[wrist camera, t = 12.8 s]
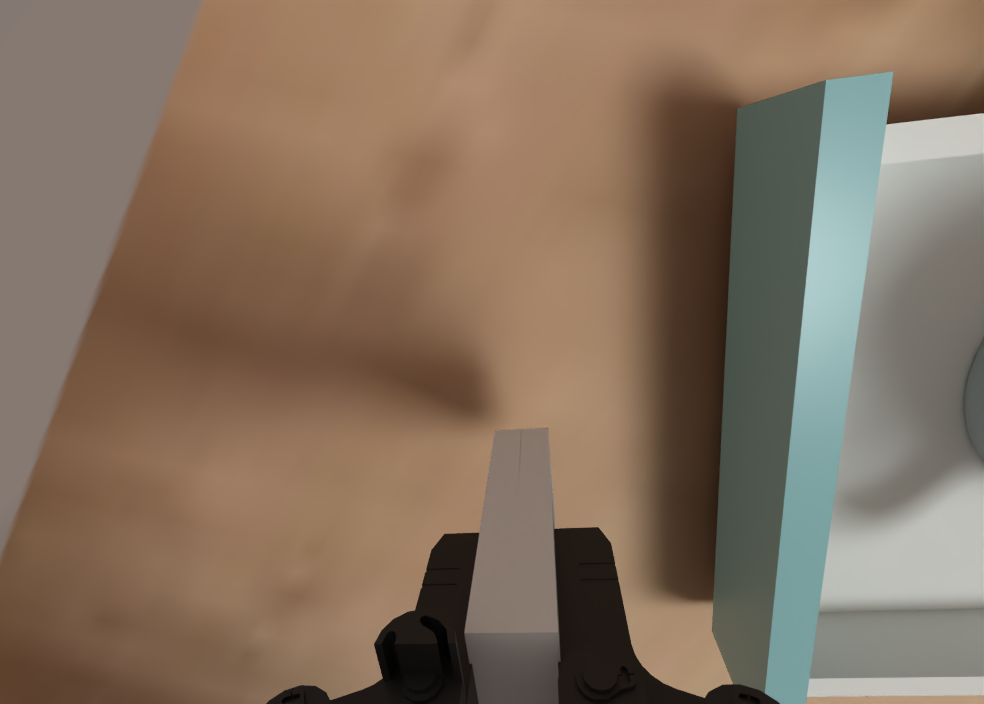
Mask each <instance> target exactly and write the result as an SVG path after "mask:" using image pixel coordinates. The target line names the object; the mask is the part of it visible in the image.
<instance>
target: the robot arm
mask: <svg viewBox="0 0 984 704" xmlns="http://www.w3.org/2000/svg"><path fill="white" fill-rule="evenodd" d="M374 646H375V650H376V654H377V657H378V661H379V665H380V669H381V673H382V677H383V679H381V680H380V681H379V682H377V683H376V684H374V685H372V686H370V687H368V688H365V689H363V690H361V691H358V692H354V693H351V694H348V695H345V696H342V697H339V698H336V699H333V700H330V699H329V697H328V695H327V693H326V692H325V691H323V690H321V689H320V688H318V687H316V686H304V685H301V686H297V687H294V688H291V689H288V690H285V691H283V692H282V693H280V694H279V695H277V696H276V697H274V698H273V699H271V700H270V701H268V702H267V703H266V704H780V703H779V702H778V701H776V700H775V699H773V698H771V697H770V696H768V695H767V694H765V693H763V692H762V691H760V690H758V689H754V688H751V687H748V686H744V685H741V684H732V685H721V686H719V687H717V688H715V689H713V690H712V691H710V692H708V694H707V696H706V697H705V698H703V697H700V696H696V695H693V694H690V693H687V692H684V691H681V690H678V689H675V688H673V687H670V686H668V685H666V684H663V683H662V682H660V681H659V680H658V679H656V678H655V677H653V676H652V675H651V674H650V673H649V672H648V671H647V670H646V669H645V668H644V667H643V666H642V665H641V664H640V662H639V660H638V659H637V657H636V656H635V653H634V651H633V648H632V645H631V640H630V635H629V630H628V625H627V620H626V615H625V610H624V605H623V601H622V596H621V591H620V586H619V582H618V576H617V571H616V566H615V561H614V556H613V551H612V546H611V543H610V542H609V540H608V539H607V538H606V536H605V535H604V534H603V533H602V531H601V530H600V529H599V528H598V527H593V528H563V529H556V527H555V510H554V497H553V484H552V471H551V459H550V446H549V434H548V428H535V429H517V430H499V431H495V434H494V441H493V447H492V454H491V461H490V467H489V474H488V480H487V487H486V493H485V500H484V507H483V513H482V520H481V526H480V533H457V534H444V535H443V536H442V538H441V539H440V540H439V541H438V543H437V544H436V545H435V546H434V548H433V549H432V550H431V554H430V558H429V561H428V565H427V572H426V573H425V576H424V580H423V584H422V588H421V591H420V595H419V598H418V602H417V606H416V609H415V611H410V612H407V613H405V614H403V615H401V616H399V617H397V618H395V619H393V620H392V621H391V622H390V623H389V624H388V625H387V626H386V627H385V628H384V629H383V630H382V631H381V633H380V634H379V636H378V638H377V640H376V642H375V644H374Z"/></svg>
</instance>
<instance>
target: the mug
mask: <svg viewBox="0 0 984 704" xmlns="http://www.w3.org/2000/svg"><path fill="white" fill-rule="evenodd" d="M964 409H965V420H966V425H967V429H968V433H969V436H970V439H971V441H972V443H973V445H974V447H975V449H976V451H977V452H978V454H979V455H980V456H981V458H982V459H983V460H984V341H983V343H982V345H981V347H980V349H979V350H978V352H977V354H976V356H975V359H974V362H973V364H972V367H971V369H970V372H969V376H968V380H967V384H966V388H965V400H964Z"/></svg>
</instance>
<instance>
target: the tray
mask: <svg viewBox="0 0 984 704" xmlns="http://www.w3.org/2000/svg"><path fill="white" fill-rule="evenodd" d="M892 79H893V72H887V73H879V74H871V75H863V76H855V77H847V78H839V79H831V80H825V81H822V82H819V83H816V84H812V85H809V86H806V87H803V88H800V89H797V90H794V91H790V92H787V93H784V94H781V95H778V96H775V97H772V98H768V99H765V100H762V101H759V102H756V103H753V104H749V105H746V106H743V107H740V108H737V127H736V147H735V168H734V188H733V209H732V230H731V250H730V271H729V291H728V312H727V332H726V353H725V373H724V394H723V414H722V435H721V456H720V476H719V497H718V517H717V538H716V558H715V579H714V599H713V620H712V632H713V635H714V637H715V640H716V642H717V645H718V647H719V650H720V652H721V655H722V657H723V660H724V662H725V665H726V667H727V670H728V672H729V675H730V677H731V680H732V682H733V684H741V685H744V686H748V687H751V688H754V689H758V690H760V691H762V692H763V693H765V694H767V695H768V696H770V697H771V698H773V699H775V700H776V701H778V702H779V703H780V704H806V699H807V697H819V696H942V695H984V460H983V459H982V458H981V456H980V455H979V454H978V452H977V451H976V449H975V447H974V445H973V443H972V441H971V439H970V436H969V433H968V429H967V425H966V420H965V409H964V400H965V388H966V384H967V380H968V376H969V372H970V369H971V367H972V364H973V362H974V359H975V356H976V354H977V352H978V350H979V349H980V347H981V345H982V343H983V341H984V113H981V114H972V115H964V116H955V117H947V118H938V119H929V120H921V121H912V122H903V123H895V124H886V123H887V115H888V108H889V101H890V94H891V87H892Z"/></svg>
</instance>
